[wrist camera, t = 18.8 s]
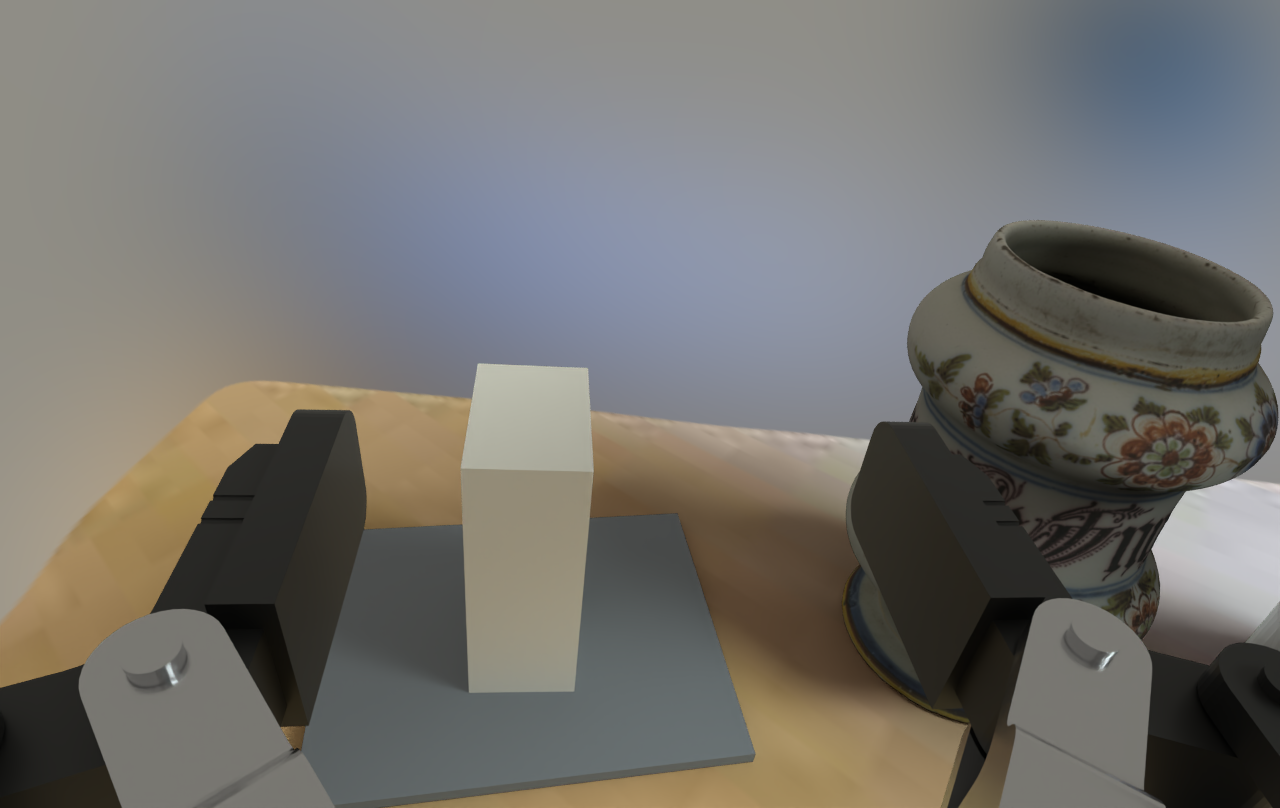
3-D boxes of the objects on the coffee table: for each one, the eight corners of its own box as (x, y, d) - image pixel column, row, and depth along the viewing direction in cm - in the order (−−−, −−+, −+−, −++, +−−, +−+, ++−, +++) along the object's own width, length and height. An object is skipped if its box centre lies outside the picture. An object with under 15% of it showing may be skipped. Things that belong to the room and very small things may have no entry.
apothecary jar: (1042, 557, 40) (1227, 224, 30) (1138, 779, 30) (1466, 392, 20) (808, 519, 40) (912, 180, 30) (826, 725, 30) (989, 321, 20)
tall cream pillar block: (572, 575, 35) (587, 368, 29) (574, 691, 30) (593, 471, 24) (482, 574, 34) (478, 363, 28) (468, 692, 29) (460, 468, 23)
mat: (676, 520, 39) (677, 513, 39) (752, 761, 29) (755, 753, 28) (342, 538, 36) (341, 530, 35) (292, 818, 25) (290, 810, 25)
